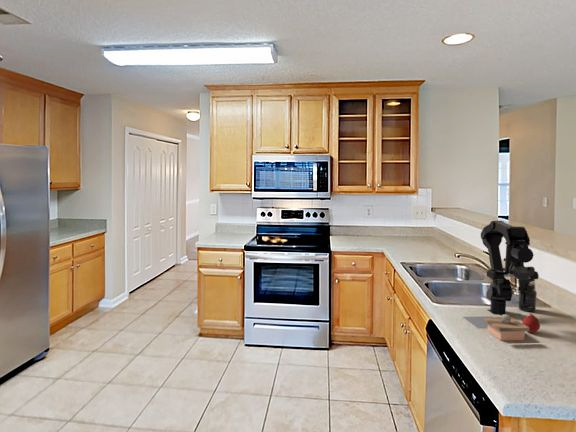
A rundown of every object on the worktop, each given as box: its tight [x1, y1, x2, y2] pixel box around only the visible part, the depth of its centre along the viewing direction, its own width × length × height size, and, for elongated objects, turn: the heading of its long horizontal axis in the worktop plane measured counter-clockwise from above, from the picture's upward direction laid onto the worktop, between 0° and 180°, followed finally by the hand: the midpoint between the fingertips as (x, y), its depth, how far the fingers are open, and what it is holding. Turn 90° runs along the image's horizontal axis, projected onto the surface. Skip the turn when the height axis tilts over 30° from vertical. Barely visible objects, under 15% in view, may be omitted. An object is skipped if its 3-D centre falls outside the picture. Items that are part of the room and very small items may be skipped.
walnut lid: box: [484, 314, 529, 332], centre depth 157 cm, size 11×11×4 cm
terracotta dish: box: [486, 324, 526, 342], centre depth 158 cm, size 9×9×4 cm
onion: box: [521, 312, 541, 334], centre depth 161 cm, size 6×6×8 cm
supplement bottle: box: [518, 282, 538, 313], centre depth 189 cm, size 7×7×12 cm
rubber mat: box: [462, 315, 493, 329], centre depth 172 cm, size 13×13×1 cm
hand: (510, 294), depth 171 cm, fingers open, 9 cm apart
